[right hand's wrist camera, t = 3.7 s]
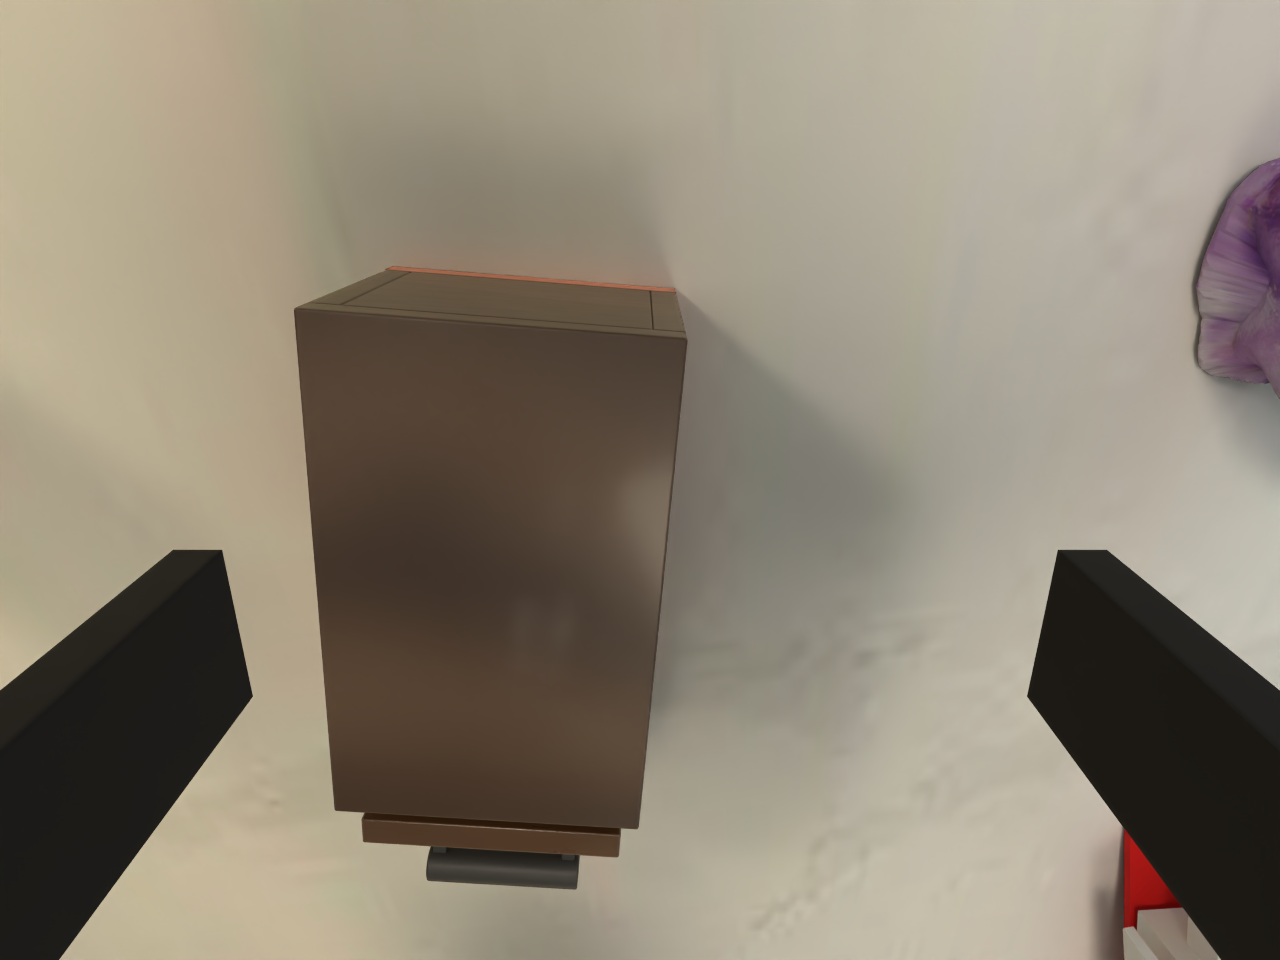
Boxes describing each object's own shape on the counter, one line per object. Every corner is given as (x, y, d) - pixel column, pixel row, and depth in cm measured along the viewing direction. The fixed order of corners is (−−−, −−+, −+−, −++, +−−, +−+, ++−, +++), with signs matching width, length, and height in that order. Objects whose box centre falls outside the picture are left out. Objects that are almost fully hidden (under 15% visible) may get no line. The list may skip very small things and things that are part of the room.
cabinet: (639, 674, 39) (638, 830, 30) (406, 659, 38) (333, 811, 29) (675, 288, 32) (688, 337, 23) (392, 266, 32) (292, 307, 23)
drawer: (615, 819, 41) (609, 960, 34) (417, 807, 41) (369, 946, 33) (652, 385, 32) (655, 449, 25) (403, 366, 32) (334, 425, 25)
